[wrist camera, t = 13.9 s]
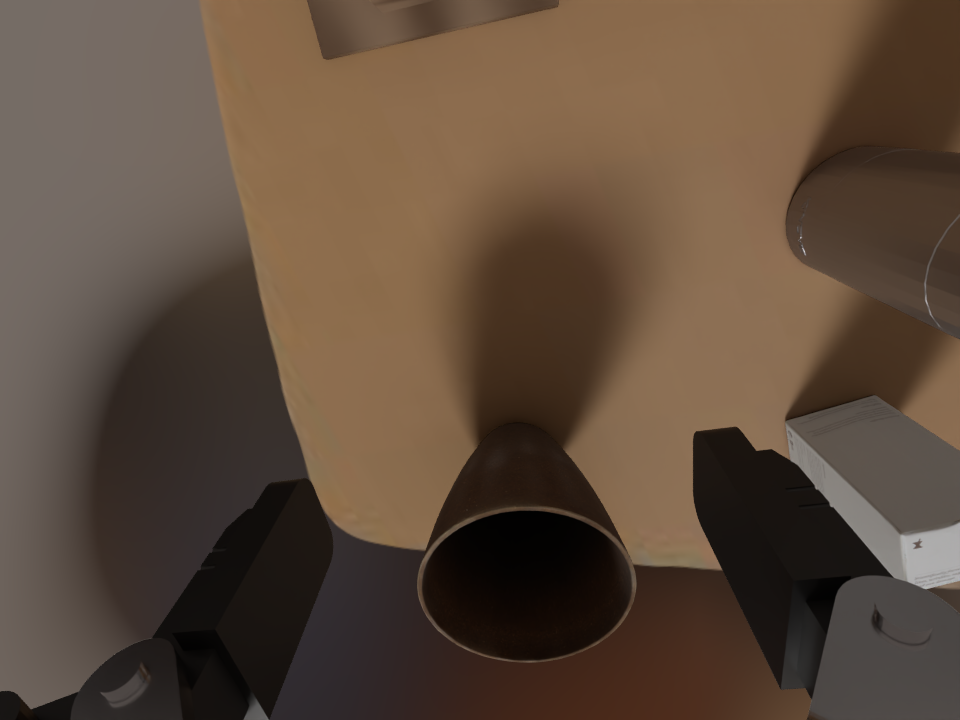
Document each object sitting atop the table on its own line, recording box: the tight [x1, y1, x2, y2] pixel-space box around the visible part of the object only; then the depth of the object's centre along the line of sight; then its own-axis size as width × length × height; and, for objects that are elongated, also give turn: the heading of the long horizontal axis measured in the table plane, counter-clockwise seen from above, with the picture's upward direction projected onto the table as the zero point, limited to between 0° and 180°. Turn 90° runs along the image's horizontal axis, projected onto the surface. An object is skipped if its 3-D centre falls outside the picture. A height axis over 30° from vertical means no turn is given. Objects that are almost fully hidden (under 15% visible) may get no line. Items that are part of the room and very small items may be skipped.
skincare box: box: [785, 395, 960, 589], centre depth 40 cm, size 8×6×15 cm
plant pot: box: [417, 423, 636, 662], centre depth 42 cm, size 15×15×16 cm
